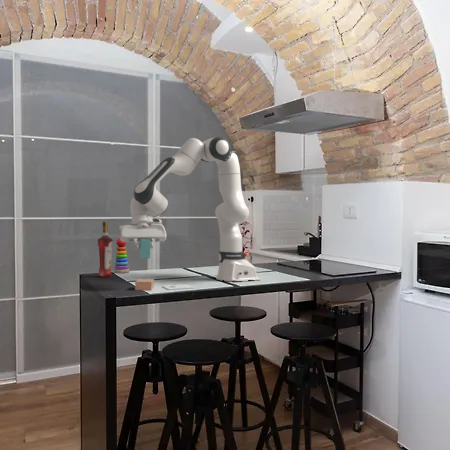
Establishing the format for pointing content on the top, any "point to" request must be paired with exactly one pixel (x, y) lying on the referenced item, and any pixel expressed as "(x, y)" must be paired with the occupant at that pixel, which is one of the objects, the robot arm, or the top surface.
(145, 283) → the base brick
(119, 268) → the stacking toy
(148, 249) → the teal brick
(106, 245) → the liquor
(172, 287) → the plate
